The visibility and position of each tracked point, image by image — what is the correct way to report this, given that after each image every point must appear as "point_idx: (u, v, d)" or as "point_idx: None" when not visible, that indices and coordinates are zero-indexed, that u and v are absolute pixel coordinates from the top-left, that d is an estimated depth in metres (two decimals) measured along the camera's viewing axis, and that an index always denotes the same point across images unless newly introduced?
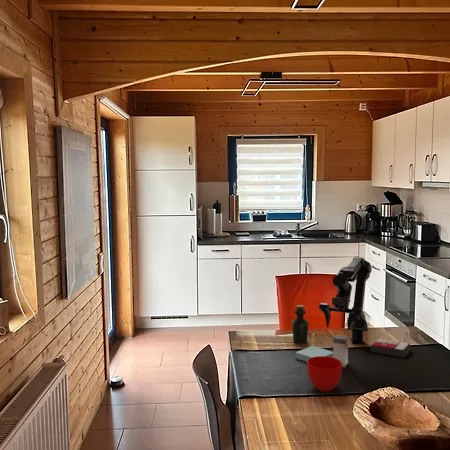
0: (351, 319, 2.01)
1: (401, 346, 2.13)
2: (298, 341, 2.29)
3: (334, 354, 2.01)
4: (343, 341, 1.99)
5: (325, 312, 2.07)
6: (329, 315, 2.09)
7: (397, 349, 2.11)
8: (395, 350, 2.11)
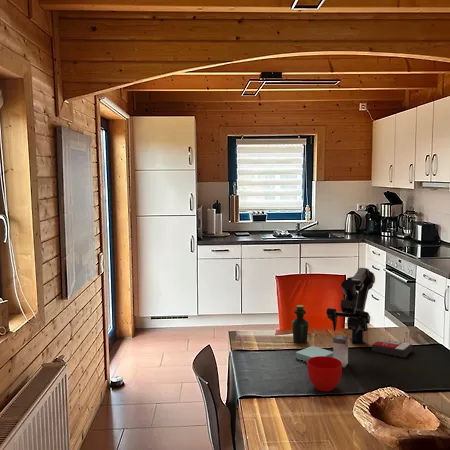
0: (358, 322, 2.07)
1: (402, 346, 2.13)
2: (298, 341, 2.29)
3: (334, 354, 2.01)
4: (343, 341, 1.99)
5: (332, 316, 2.13)
6: (336, 320, 2.14)
7: (397, 349, 2.11)
8: (395, 350, 2.11)
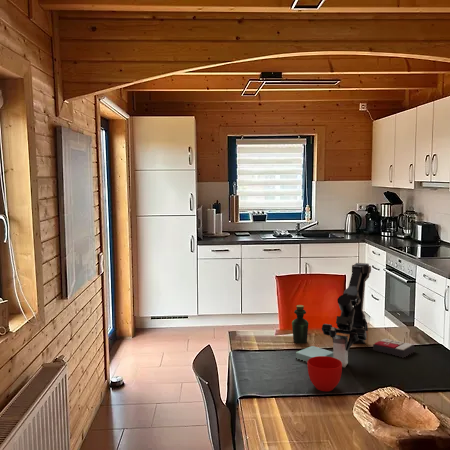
0: (350, 339, 2.02)
1: (403, 346, 2.13)
2: (298, 341, 2.29)
3: (334, 354, 2.01)
4: (343, 341, 1.99)
5: (332, 333, 2.06)
6: None
7: (397, 349, 2.11)
8: (395, 350, 2.11)
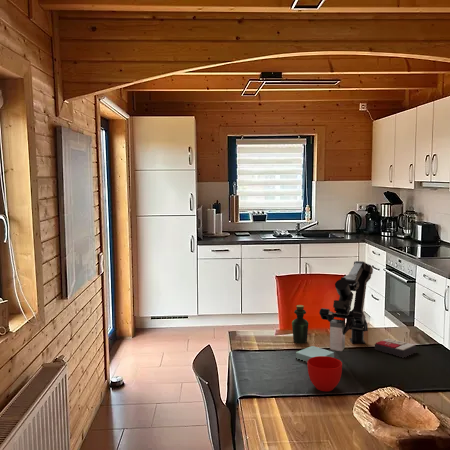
0: (347, 323, 2.02)
1: (404, 346, 2.13)
2: (298, 341, 2.29)
3: (330, 338, 2.01)
4: (339, 325, 1.99)
5: (330, 317, 2.06)
6: None
7: (397, 349, 2.11)
8: (395, 350, 2.12)
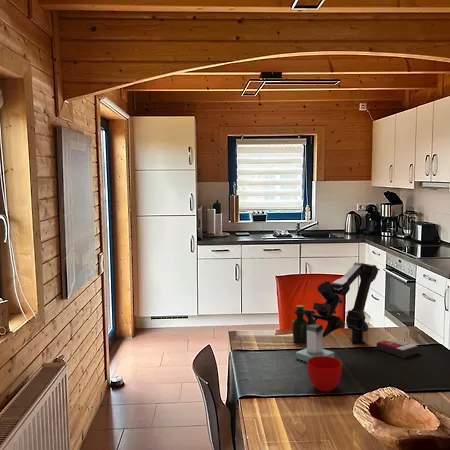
0: (328, 326, 2.06)
1: (404, 347, 2.12)
2: (298, 341, 2.29)
3: (307, 341, 2.09)
4: (314, 329, 2.06)
5: (308, 318, 2.14)
6: (313, 322, 2.15)
7: (397, 349, 2.11)
8: (396, 349, 2.12)
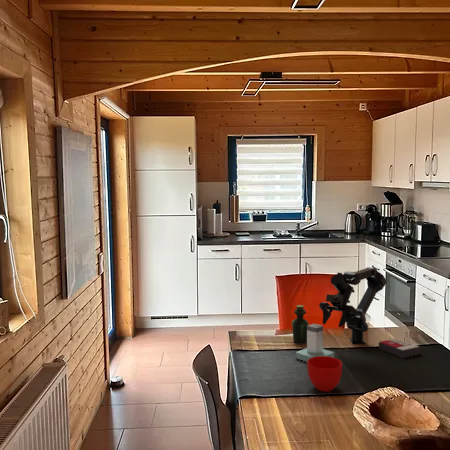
0: (342, 316, 2.11)
1: (405, 347, 2.12)
2: (298, 341, 2.29)
3: (307, 341, 2.09)
4: (314, 329, 2.05)
5: (323, 310, 2.21)
6: (328, 314, 2.21)
7: (398, 349, 2.11)
8: (396, 349, 2.12)
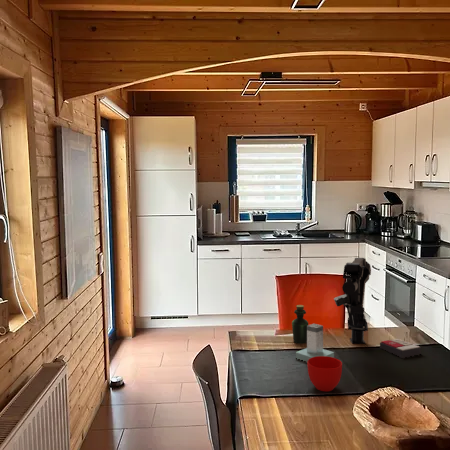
0: (352, 316, 2.13)
1: (406, 347, 2.12)
2: (298, 341, 2.29)
3: (307, 341, 2.09)
4: (314, 329, 2.05)
5: None
6: None
7: (398, 349, 2.11)
8: (396, 349, 2.12)
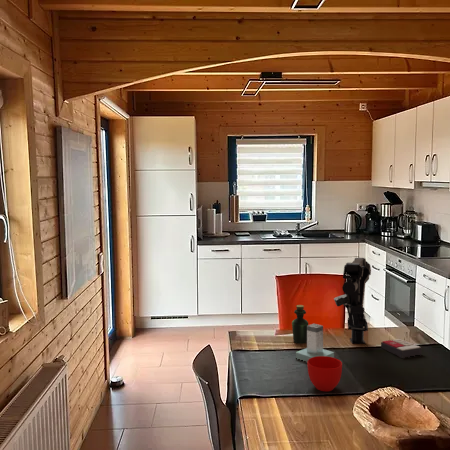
0: (352, 316, 2.13)
1: (406, 347, 2.12)
2: (298, 341, 2.29)
3: (307, 341, 2.09)
4: (314, 329, 2.05)
5: None
6: None
7: (398, 349, 2.11)
8: (396, 349, 2.12)
